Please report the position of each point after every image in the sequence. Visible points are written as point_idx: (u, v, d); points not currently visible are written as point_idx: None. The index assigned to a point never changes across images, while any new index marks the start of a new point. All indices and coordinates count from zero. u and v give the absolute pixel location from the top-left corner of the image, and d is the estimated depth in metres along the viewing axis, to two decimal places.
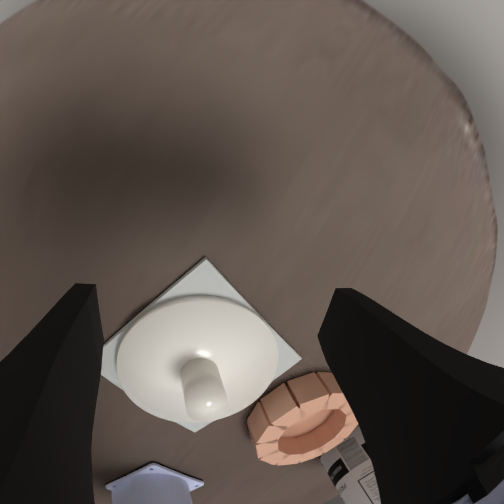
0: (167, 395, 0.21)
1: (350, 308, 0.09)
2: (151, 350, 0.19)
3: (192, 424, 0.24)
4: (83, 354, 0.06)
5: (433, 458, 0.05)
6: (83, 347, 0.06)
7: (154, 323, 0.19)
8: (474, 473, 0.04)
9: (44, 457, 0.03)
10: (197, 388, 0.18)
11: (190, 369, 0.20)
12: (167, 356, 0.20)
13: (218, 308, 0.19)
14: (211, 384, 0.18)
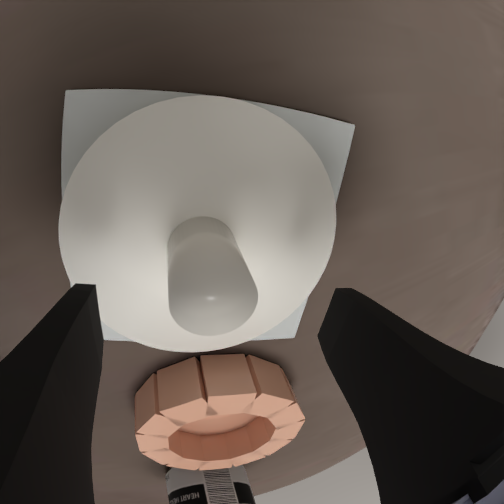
0: (119, 245, 0.11)
1: (350, 308, 0.09)
2: (188, 150, 0.10)
3: None
4: (83, 354, 0.06)
5: (433, 458, 0.05)
6: (83, 347, 0.06)
7: (242, 119, 0.10)
8: (474, 473, 0.04)
9: (44, 457, 0.03)
10: (229, 254, 0.10)
11: (213, 226, 0.11)
12: (196, 182, 0.11)
13: (320, 184, 0.12)
14: (247, 267, 0.10)
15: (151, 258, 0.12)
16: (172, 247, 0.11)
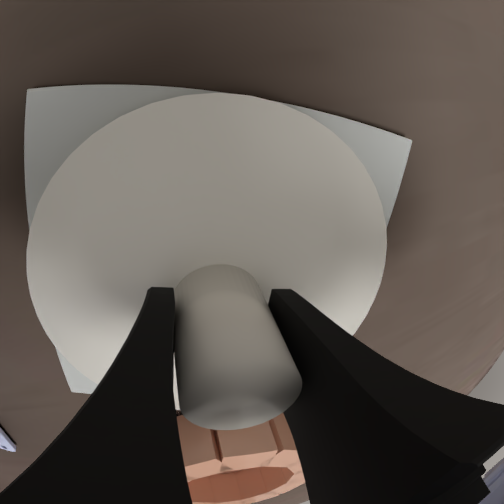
0: (107, 300, 0.08)
1: (283, 311, 0.08)
2: (200, 174, 0.07)
3: (81, 378, 0.11)
4: None
5: (359, 493, 0.04)
6: None
7: (277, 129, 0.07)
8: None
9: None
10: (264, 336, 0.06)
11: (235, 282, 0.08)
12: (210, 218, 0.08)
13: (372, 217, 0.09)
14: (286, 346, 0.07)
15: None
16: (179, 313, 0.08)
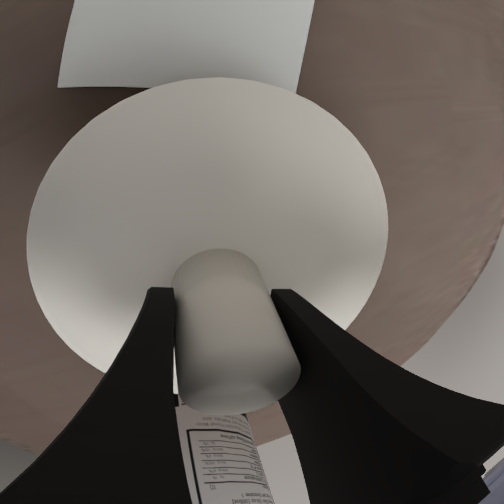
0: (107, 284, 0.08)
1: (283, 311, 0.08)
2: (201, 158, 0.07)
3: (73, 66, 0.11)
4: None
5: (359, 493, 0.04)
6: None
7: (280, 114, 0.07)
8: None
9: None
10: (263, 322, 0.07)
11: (236, 267, 0.08)
12: (211, 202, 0.08)
13: (374, 205, 0.09)
14: (285, 332, 0.07)
15: None
16: (179, 297, 0.08)
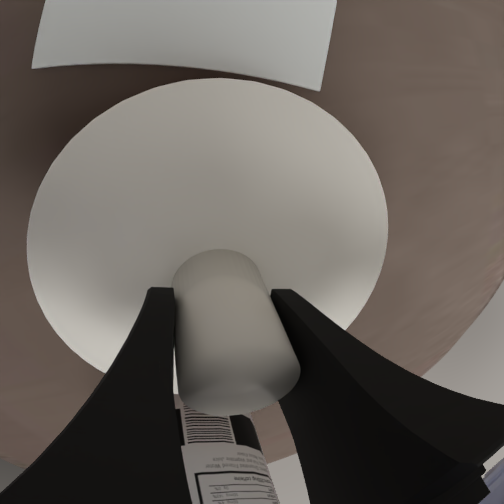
0: (107, 284, 0.08)
1: (283, 311, 0.08)
2: (201, 159, 0.07)
3: (51, 41, 0.08)
4: None
5: (359, 493, 0.04)
6: None
7: (280, 115, 0.07)
8: None
9: None
10: (263, 323, 0.07)
11: (236, 268, 0.08)
12: (211, 203, 0.08)
13: (374, 206, 0.09)
14: (285, 332, 0.07)
15: None
16: (179, 298, 0.08)
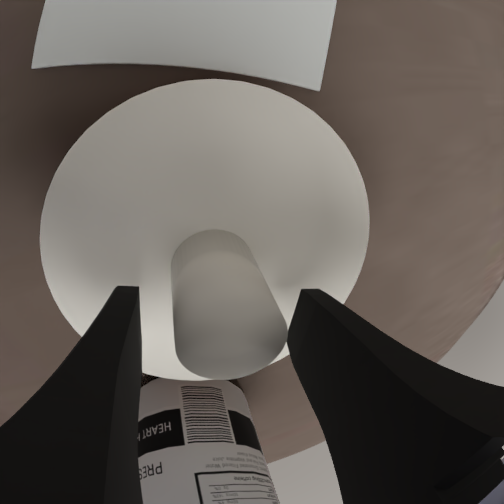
0: (112, 263, 0.09)
1: (314, 310, 0.08)
2: (198, 148, 0.08)
3: (50, 41, 0.08)
4: (132, 357, 0.06)
5: (395, 478, 0.04)
6: (133, 350, 0.06)
7: (265, 110, 0.08)
8: (439, 499, 0.03)
9: (119, 467, 0.03)
10: (252, 283, 0.07)
11: (228, 243, 0.09)
12: (207, 187, 0.09)
13: (354, 191, 0.10)
14: None
15: (152, 279, 0.10)
16: (177, 269, 0.09)
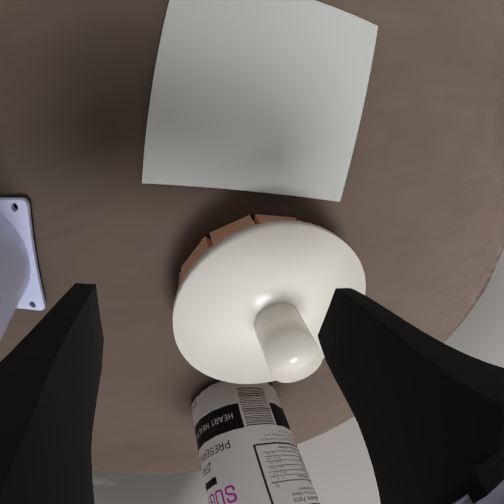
0: (220, 322, 0.17)
1: (350, 308, 0.09)
2: (276, 263, 0.16)
3: (156, 164, 0.15)
4: (83, 354, 0.06)
5: (433, 458, 0.05)
6: (83, 347, 0.06)
7: (313, 241, 0.16)
8: (474, 473, 0.04)
9: (44, 458, 0.03)
10: (307, 337, 0.15)
11: (290, 312, 0.17)
12: (279, 282, 0.17)
13: (357, 275, 0.18)
14: (315, 341, 0.16)
15: (242, 328, 0.18)
16: (264, 327, 0.16)
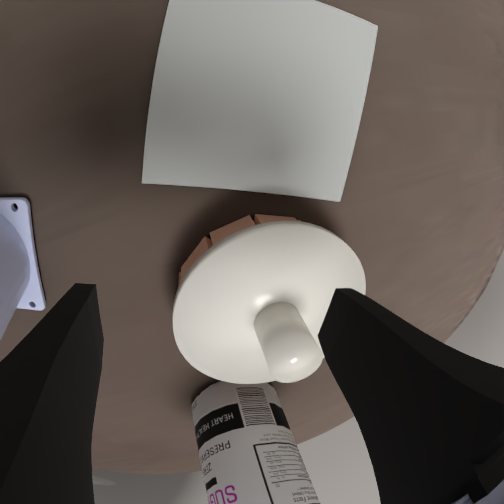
0: (220, 322, 0.17)
1: (350, 308, 0.09)
2: (276, 263, 0.16)
3: (157, 164, 0.15)
4: (83, 354, 0.06)
5: (433, 458, 0.05)
6: (83, 347, 0.06)
7: (313, 241, 0.16)
8: (474, 473, 0.04)
9: (44, 458, 0.03)
10: (307, 337, 0.15)
11: (290, 312, 0.17)
12: (279, 282, 0.17)
13: (357, 275, 0.18)
14: (315, 341, 0.16)
15: (242, 328, 0.18)
16: (264, 327, 0.16)
